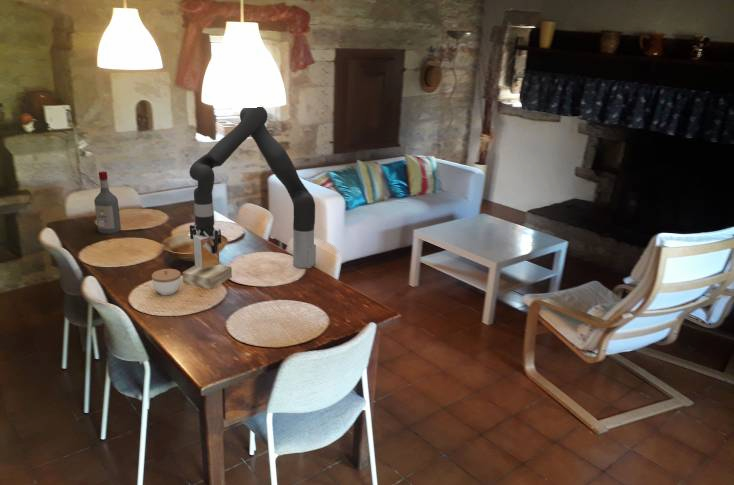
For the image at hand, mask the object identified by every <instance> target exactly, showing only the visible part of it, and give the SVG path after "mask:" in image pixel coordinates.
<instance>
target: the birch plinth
mask: <svg viewBox="0 0 734 485" xmlns="http://www.w3.org/2000/svg"><path fill="white" fill-rule="evenodd" d="M181 274H182V282H183V284H186V283H187V285H191V286H195V287H200V288H204V289H208V290H214V288H216V287H218V286H219V285H221V284H223V283H225V282H227V280H229V279H231V278H232V277H233V273H232V266H231V265H226V264H221V263H220V264H219V265H216V266H212V267H208V268H205V269H201V268H200V267H198V266H196V265H195V264H194V265H193V266H192V267H190V268H188V269H186V270H184V271H182V273H181Z"/></svg>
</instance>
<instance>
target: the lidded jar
mask: <svg viewBox="0 0 734 485" xmlns="http://www.w3.org/2000/svg"><path fill="white" fill-rule="evenodd" d="M181 275H182V273H181V272H180V271H179V270H178V269H174V268H164V269H158V270H156V271H154V272H153V273H152V274H151V280H152V285H153V288H154V290H155V291H156V292H158V293H159V294H160V295H162V296H170V295H174V294H175V293H176V292H177V291H178V289H179V288H180V285H181V280H182V279H181Z"/></svg>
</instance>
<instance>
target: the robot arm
mask: <svg viewBox="0 0 734 485" xmlns="http://www.w3.org/2000/svg"><path fill="white" fill-rule="evenodd" d="M239 120H240V122H239V123H238V124H237V125H236V126H235V127H234V128H233V129H231V130H230V131H229V132H228V133H227V134H226V135H225V136H223V137H222V138H221V139H220V140H219V141H218V142H216V143H215V144H214V146H213V147H211V149H210V150H209V151H208V152H207V153H206V154H203V155H202V156H201V157H200V158H199V159H197V160H195V161H194V163H193V164H192V165H191V167H189V177H190V178H192V180H195V181H196V182H197V187H196V188H195V189H194V190H193V211H194V212H193V213H194V215H193V216H194V223H193V224H191V225H189V234H190V235H189V239H190V240H193V236H194V235H198V236H199V235H201V236H205V237H207V238H208V241H210V242H211V244H212V254H215V253H217V251H218V249H217V245H218V244H219V245H220V244H222V232H221V229H220V228H219V229H215V227H214V225H215V211H214V210H215V209H214V203H213V202H214V200H213V199H214V198H213V189H214V185H215V172H214V168H216V167H221V166H222V165H223V164H224V163H226V161H227V160H228V159H229V158H230V157H231V156H232V155H233V153H234V152H235V151H236V150H237V149H238V148H239V147H240V146H241V145H242V144H243V143H244V142H245V141H246V140H247V139H248V138H249V137H251V138H252V139H253V142H254V143H255V144H256V145H257V147H258V149H259V151H260V153H261V155H262V156H263V158H264V159H265V162H266V163H267V165H268V167H269V169H270V170H271V172H272V173H273V174H274V176H275V177H276V178H277V179H278V181H279V182H280V183H281V184H282V185H283V186H284V188H285V189H286V191H287V193H288V195H289V197H290V199H291V201H292V206H293V220H292V221H293V224H292V226H293V227H292V232H293V234H292V238H293V239H292V240H293V242H292V244H293V246H292V247H293V250H292V262H293V263H292V264H293V266H294V267H295V268H298V269H311V268H312V267H314V265H316V259H317V258H316V255H317V254H316V253H317V252H316V251H317V249H316V248H317V245H316V244H315V224H316V202H315V199H314V197H313V195H312V194H311V192H310V191H309V190H308V188H307V187H306V186H305V184H304V183H303V181H302V179H301V178H300V177H299V174H298V172H297V169H296V167H295V165H294V164H293V163H294V162H293V161H292V159H291V158H290V156H289V154H288V152H287V151H286V149H285V148H284V147H283V146H282V144H281V143H280V142H278V141H277V140H276V139H275V137H274V136H273V135H272V134H271V133H270V131H269V129H267V126H266V123H267V121H268V111H267V110H266V108H265V107H264V106H262V107H257V108H244V107H243V108H242V109H241V110H240V113H239ZM211 236H215V237H212V238H210V237H211ZM213 239H214V241H213Z"/></svg>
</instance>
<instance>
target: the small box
mask: <svg viewBox="0 0 734 485" xmlns="http://www.w3.org/2000/svg"><path fill="white" fill-rule="evenodd" d="M212 237H215V236H211V237H210V238H212ZM192 241H193V251H194V254H193V255H194V266H195V265H196V266H198V267H200V268H201V269H205V268H208V267H212V266H216V265H219V264H221V263H220V248H219V247H220V244H218V245H217V249H218V251H217V253H215V254H212V244H211V242H210V241H208V238H207V237H205V236H201V235H199V236H198V235H194V236H193V239H192ZM213 241H214V239H213Z"/></svg>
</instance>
